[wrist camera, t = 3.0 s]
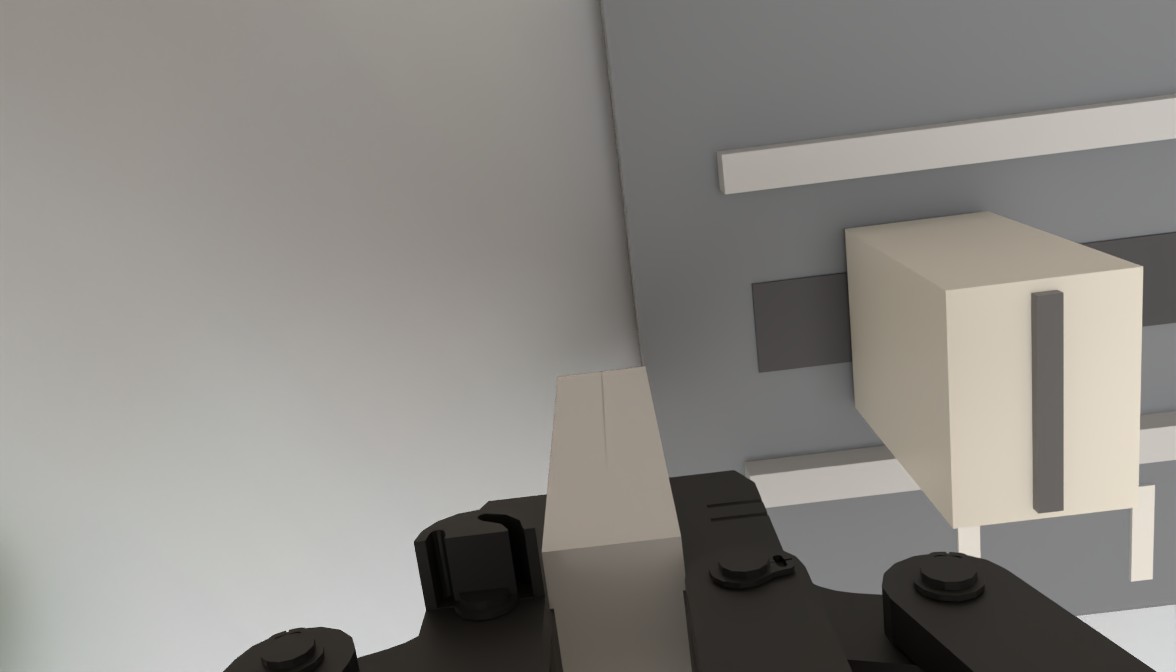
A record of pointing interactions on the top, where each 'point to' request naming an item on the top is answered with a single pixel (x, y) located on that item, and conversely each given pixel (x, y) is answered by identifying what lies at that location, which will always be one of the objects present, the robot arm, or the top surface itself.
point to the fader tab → (998, 365)
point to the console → (872, 197)
